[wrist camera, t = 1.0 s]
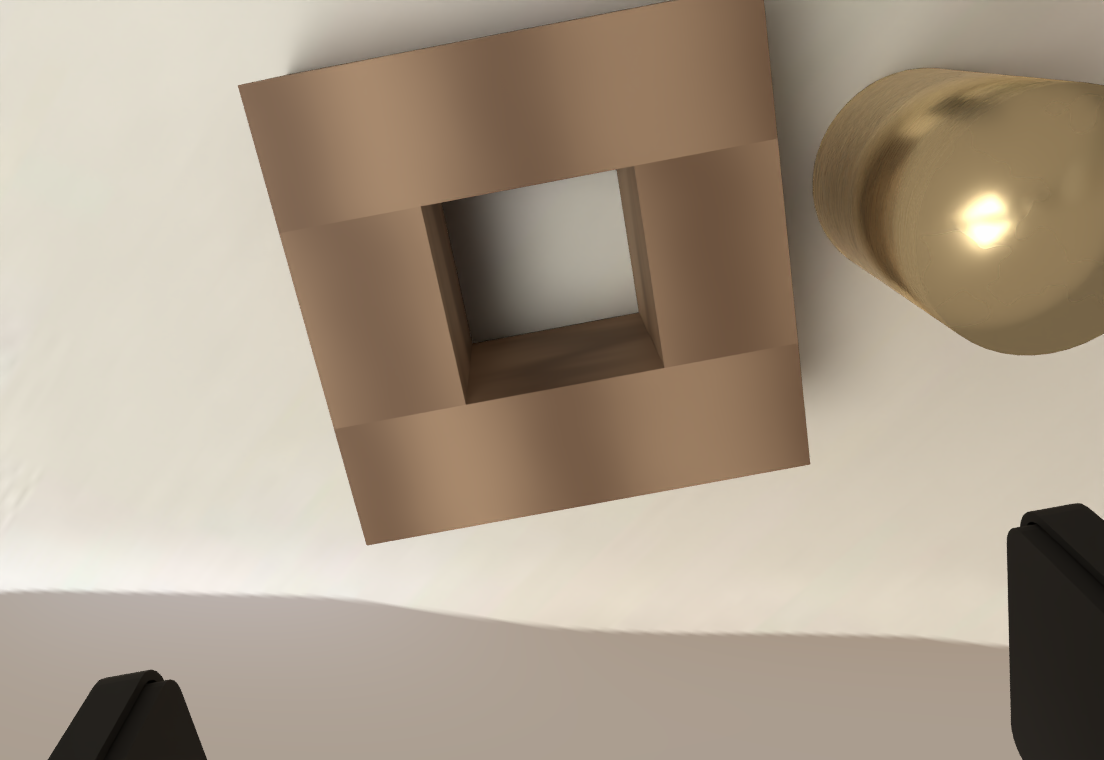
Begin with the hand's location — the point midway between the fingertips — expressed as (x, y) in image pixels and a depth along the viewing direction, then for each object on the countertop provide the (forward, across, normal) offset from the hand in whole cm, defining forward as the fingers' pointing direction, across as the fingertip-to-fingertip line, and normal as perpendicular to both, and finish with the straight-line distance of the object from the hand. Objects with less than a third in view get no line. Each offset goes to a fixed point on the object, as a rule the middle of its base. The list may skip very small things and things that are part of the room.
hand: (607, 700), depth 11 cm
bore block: (+24, 0, 0) cm, 24 cm away
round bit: (+24, -13, 0) cm, 28 cm away
